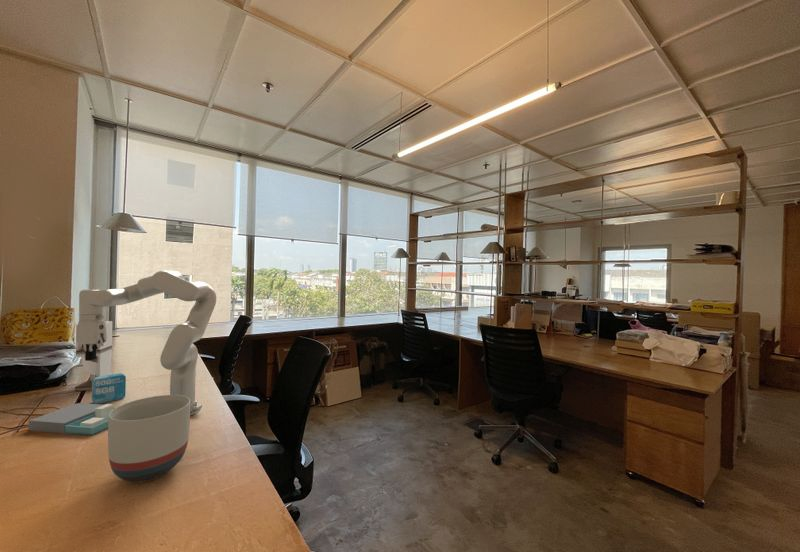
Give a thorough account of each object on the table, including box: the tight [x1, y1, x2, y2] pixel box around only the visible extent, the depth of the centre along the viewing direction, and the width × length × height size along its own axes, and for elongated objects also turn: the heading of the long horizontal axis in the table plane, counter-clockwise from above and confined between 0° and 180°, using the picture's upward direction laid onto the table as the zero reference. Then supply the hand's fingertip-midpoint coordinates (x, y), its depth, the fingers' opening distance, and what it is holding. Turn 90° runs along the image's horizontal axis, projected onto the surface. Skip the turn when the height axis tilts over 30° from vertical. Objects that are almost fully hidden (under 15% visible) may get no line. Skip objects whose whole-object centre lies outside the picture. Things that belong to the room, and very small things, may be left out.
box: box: [64, 407, 116, 437], centre depth 135 cm, size 12×18×3 cm, turn 174°
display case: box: [74, 320, 113, 391], centre depth 180 cm, size 11×11×35 cm
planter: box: [107, 394, 191, 483], centre depth 102 cm, size 20×20×21 cm
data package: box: [91, 372, 127, 404], centre depth 161 cm, size 12×4×12 cm, turn 139°
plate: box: [27, 402, 104, 434], centre depth 137 cm, size 16×18×4 cm
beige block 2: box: [95, 403, 114, 419], centre depth 140 cm, size 5×5×3 cm
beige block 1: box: [80, 417, 105, 427], centre depth 131 cm, size 5×5×3 cm
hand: (90, 359), depth 142 cm, fingers closed
